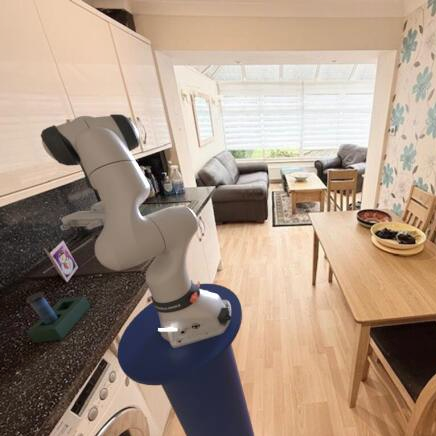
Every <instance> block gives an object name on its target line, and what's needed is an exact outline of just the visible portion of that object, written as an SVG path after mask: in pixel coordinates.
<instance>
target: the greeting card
mask: <svg viewBox="0 0 436 436" xmlns="http://www.w3.org/2000/svg"><path fill="white" fill-rule="evenodd" d="M42 248H43V249H44V252H45V254H46V255H47V256H48V258H49V259H50V262H51V263H52V265H53V267H54V268H55V269H56V271H57V273H58V274H59V275H60V277H61V278H62V279H63V280H64V281H65V282H66V283H68V282H69V281H70V280H71V278H72V276H73V275H74V274H75V273H76V271H78V269H79V266H78V265H77V263H76V261H75V259H74V257H73V255H72V254H71V251H70V250H69V248H68V247H67V244H66V243H65V241H64V240H62V241H60V242H59V243H58V244H57V246H55V248H53V249H52V251H50V252H49V251H48V250H47V249H46V247H44V246H42Z"/></svg>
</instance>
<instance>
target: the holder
mask: <svg viewBox="0 0 436 436" xmlns="http://www.w3.org/2000/svg"><path fill="white" fill-rule="evenodd" d="M90 307H91V304H90V302H89V300H88V299H87V297H86V295H80V296H73V297H64V298H61V299H59V300H58V301H57V302H56V303H55V304H54V305H53V306H52V307H51V308H52V310H53V311H54V313H55V314H56V315H57V317H58V319H57V320H56V321H55V322H54V324H51V325H45V324H44V322H43V321H42V319H41V318H39V320H38V321H36V323H35V324H34V325H33V326H31V328H29V329H28V330H27V331H26V334H27V335H28V336H29V338H31V340H32V341H33V342H34V344H39V343H45V342H52V341H53V342H54V341H59V340H63V339H64V338H65V337H66V336H67V334H69V332H70V331H71V330H72V329H73V328H74V327H75V325H76V324H77V323H78V321H80V319H81V318H82V317H83V316H84V315H85V314H86V313H87V311H88V310H89V309H90Z"/></svg>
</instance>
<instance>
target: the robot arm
mask: <svg viewBox="0 0 436 436" xmlns="http://www.w3.org/2000/svg"><path fill="white" fill-rule="evenodd" d="M40 138H41V144H42V146H43V149H44V150H45V152H46V153H47V154H48V156H50V157H51V158H52V159H53V160H54V161H56V162H57V163H59V164H61V165H64V166H80V168H81V171H82V172H83V174H84V180H85V184H86V186H87V187H88V189H91V190H94V191H97V192H98V194H99V196H100V199H101V200H100V201H98V202H96V203H94V204H92V205H91V207H90V210H79V211H75V212H73V213H70V214H68V215H65V216H63V217H62V218H61V222H62V224H61V225H60V229H61V230H62V231H68V230H69V229H71V227H84V228H85V230H93V229H94V228H97V227H100V226H103V228H102V230H101V232H100V234H99V235H98V236H97V238H96V240H95V242H94V254H95V258H96V259H97V261H98V262H99V263H100V264H101V265H102V266H103V267H105V268H107V269H109V270H111V271H116V272H120V271H124V270H127V269H131V268H134V267H136V266H139V265H141V264H143V263H145V262H147V261H149V260H151V259H153V258H154V259H153V261H152V262H151V263H150V264H149V266H148V267H147V269H146V270H145V276H144V277H145V282H146V285H147V287H148V290H149V293H150V295H151V297H150V298H151V301H152V302H153V305H154V307H155V309H156V310H157V311H158V314H159V318H160V325H161V329H158V330H159V331H160V332H161V336H162V337H163V338H164V339H165V340H167V341H169V342H170V344H171V346H172V347H173V348H177V347H180V346H184V345H187V344H190V343H194V342H197V341H200V340H204V339H207V338H210V337H214V336H217V335H220V334H222V333H224V331H225V330H226V329H227V327H228V325H229V322H230V319H231V305H230V303H229V302H228V301H227V300H221V298H220V296H219V295H218V294H216V293H212V292H209V291H207V290H202V289H199V286H200V284H201V283H200V281H199V280H198V281H197V286H196V285H195V284H196V283H194V281H193V280H192V279H191V277H190V273H189V269H188V268H189V267H188V264H187V263H188V262H187V261H188V260H187V259H188V251H189V248H190V245H191V242H192V240H193V238H194V236H195V235H196V234H197V232H198V230H199V219H198V216H197V214H196V213H195V212H194V210H193V209H192V208H189V207H188V206H186V205H175V206H169V207H165V208H163V209H160V210H157V211H155V212H152V213H148V214H146V215H142V214H141V211H140V208H139V207H140V206H141V205H142V204H143V203H144V202H145V201H146V200H147V199H148V197H149V196H150V194H151V185H150V182H149V181H148V179H147V178H146V176H145V174H144V172H143V171H142V169H141V167H140V166H139V163H138V162H137V161H136V159H135V157H134V155H133V153H132V152H131V151H134V150H136V149H137V148H138V147H140V144H141V140H140V133H139V130H138V128H137V127H136V125H135V124H134V123H133V121H131V120H130V118H129V117H128V116H126V115H123V114H117V113H115V114H114V113H113V114H110V115H105V116H95V117H94V116H90V115H81V116H77V117H75V118H73V119H72V120H71V121H68V122H64V123H61V124H59V125H55V124H53V125H51V126H49V127H46V128H44V129H43V130H42V131H41V134H40ZM152 302H151V303H152ZM227 306H228V307H227ZM179 342H180V343H179Z"/></svg>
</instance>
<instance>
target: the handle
mask: <svg viewBox="0 0 436 436" xmlns="http://www.w3.org/2000/svg"><path fill="white" fill-rule="evenodd" d="M25 301H26V303H27V304H30V306H31V307H32V308H33V310H34V311H35V313H36V314H37V316H38V317H39V319H42V321H43V322H44V324H45V325H51V324H54V322H55V321H56V320H57V319H58V317H57V315H56V314H55V313H54V311H53V310H52V307H51V305H50V303H49V302H48V301H47V299H46V298H45V294H44V292H43V291H38V292H35V293H32V294H31V295H29V296H28V297H26V299H25Z"/></svg>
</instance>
